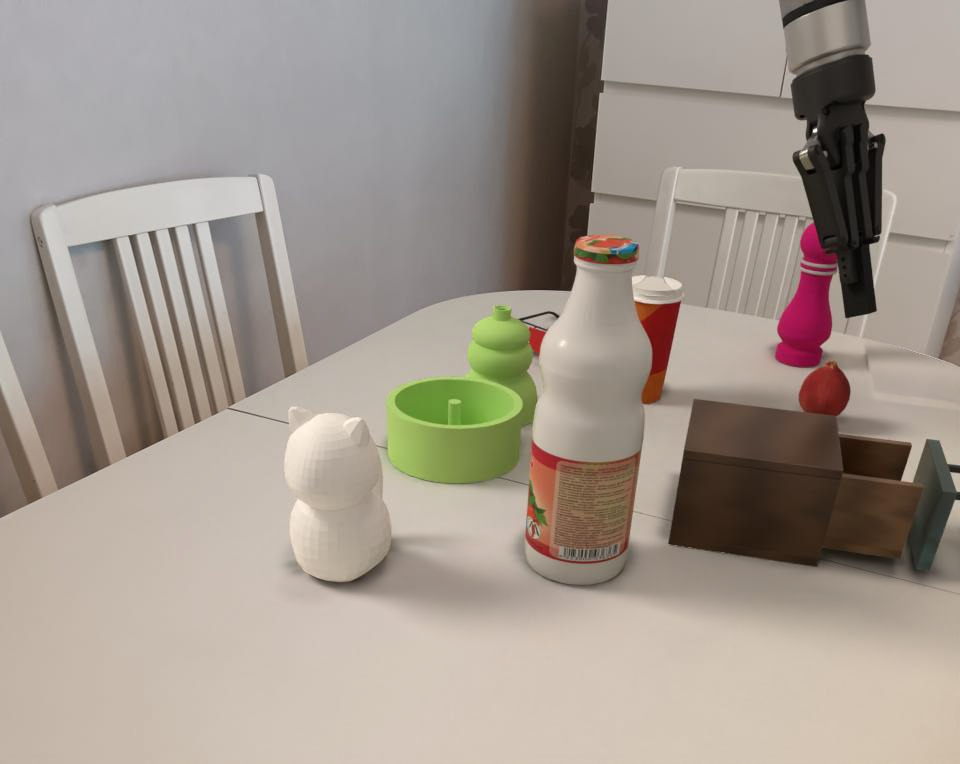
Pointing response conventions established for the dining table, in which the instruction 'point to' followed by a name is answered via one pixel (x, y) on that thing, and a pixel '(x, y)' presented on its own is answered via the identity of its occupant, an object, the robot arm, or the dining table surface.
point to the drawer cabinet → (757, 482)
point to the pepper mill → (808, 306)
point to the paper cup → (657, 325)
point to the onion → (825, 391)
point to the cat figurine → (335, 496)
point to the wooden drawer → (891, 500)
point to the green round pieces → (467, 409)
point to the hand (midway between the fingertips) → (861, 314)
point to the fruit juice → (589, 421)
